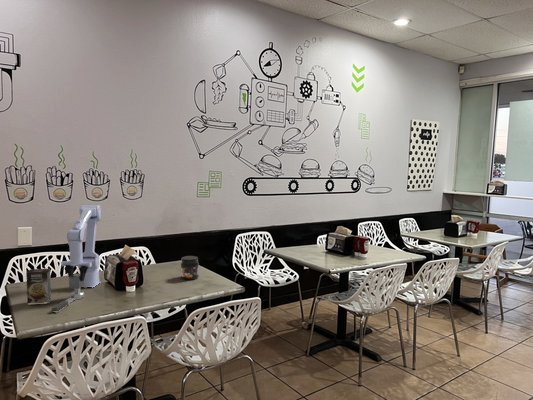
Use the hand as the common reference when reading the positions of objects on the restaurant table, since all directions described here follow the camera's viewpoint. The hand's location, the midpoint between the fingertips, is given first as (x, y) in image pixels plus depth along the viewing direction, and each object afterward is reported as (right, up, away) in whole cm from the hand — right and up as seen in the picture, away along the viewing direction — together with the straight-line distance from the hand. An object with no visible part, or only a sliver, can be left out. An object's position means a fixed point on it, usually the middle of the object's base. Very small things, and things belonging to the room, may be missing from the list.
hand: (77, 280), depth 204 cm
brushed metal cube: (0, -3, 0) cm, 3 cm away
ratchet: (-1, -10, -7) cm, 12 cm away
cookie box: (-15, -10, -7) cm, 19 cm away
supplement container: (+49, -6, +37) cm, 62 cm away
